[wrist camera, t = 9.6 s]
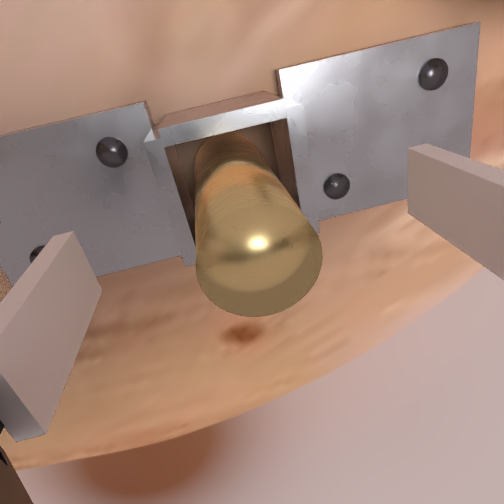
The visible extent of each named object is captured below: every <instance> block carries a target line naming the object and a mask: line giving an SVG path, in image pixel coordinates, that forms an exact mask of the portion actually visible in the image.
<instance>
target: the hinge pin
mask: <svg viewBox="0 0 504 504" xmlns="http://www.w3.org/2000/svg"><path fill="white" fill-rule="evenodd" d="M194 176H195V242H196V273H197V278H198V281H199V284H200V286H201V288H202V290H203V292H204V293H205V294H206V296H207V297H208V298H209V299H210V300H211V301H212V302H213V303H214V304H215V305H217V306H218V307H220V308H221V309H223V310H225V311H227V312H230V313H233V314H236V315H240V316H247V317H259V316H267V315H272V314H275V313H278V312H281V311H283V310H285V309H287V308H289V307H291V306H293V305H294V304H295V303H297V302H298V301H300V300H301V299H302V298H303V297H304V296H305V295H306V294H307V293H308V292H309V291H310V289H311V288H312V286H313V285H314V283H315V281H316V280H317V278H318V275H319V272H320V269H321V265H322V247H321V242H320V240H319V237H318V235H317V233H316V231H315V229H314V228H313V227H312V225H311V224H310V222H309V221H308V220H307V218H306V217H305V215H304V214H303V213H302V211H301V210H300V208H299V207H298V206H297V204H296V203H295V201H294V200H293V199H292V197H291V196H290V194H289V193H288V192H287V190H286V189H285V187H284V186H283V185H282V183H281V182H280V180H279V179H278V178H277V176H276V175H275V173H274V172H273V171H272V169H271V168H270V166H269V165H268V164H267V162H266V161H265V159H264V158H263V157H262V155H261V154H260V152H259V151H258V150H257V148H256V147H255V146H254V144H253V143H252V142H251V141H250V140H249V139H247V138H246V137H244V136H242V135H240V134H237V133H231V132H226V133H222V134H217V135H214V136H212V137H210V138H209V139H207V140H206V141H205V142H204V143H203V144H202V145H201V147H200V148H199V150H198V152H197V154H196V157H195V163H194Z"/></svg>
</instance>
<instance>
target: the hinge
mask: <svg viewBox="0 0 504 504" xmlns="http://www.w3.org/2000/svg"><path fill="white" fill-rule="evenodd" d="M479 34H480V22H477V23H470V24H465V25H461V26H456V27H452V28H448V29H444V30H440V31H436V32H431V33H427V34H423V35H419V36H415V37H410V38H406V39H402V40H398V41H394V42H389V43H385V44H381V45H377V46H373V47H368V48H364V49H360V50H356V51H352V52H347V53H343V54H339V55H335V56H331V57H326V58H322V59H318V60H314V61H310V62H305V63H301V64H297V65H293V66H289V67H284V68H280V69H276V70H275V71H276V77H277V84H278V90H279V95H277V96H276V95H273V94H271V93H268V92H266V91H261V92H257V93H253V94H248V95H244V96H240V97H236V98H232V99H228V100H223V101H219V102H215V103H211V104H207V105H203V106H198V107H194V108H190V109H186V110H182V111H178V112H173V113H169V114H165V116H164V118H163V120H162V122H161V124H157V125H153V122H152V119H151V116H150V113H149V110H148V107H147V104H146V101H142V102H138V103H133V104H129V105H125V106H121V107H117V108H112V109H108V110H104V111H100V112H96V113H91V114H87V115H83V116H79V117H75V118H70V119H66V120H62V121H58V122H54V123H49V124H45V125H41V126H37V127H33V128H28V129H24V130H20V131H16V132H12V133H7V134H3V135H0V266H1V268H2V270H3V271H4V273H5V274H6V276H7V278H8V279H9V281H10V282H11V284H12V286H14V285H15V283H16V282H17V281H18V280H19V278H20V277H21V276H22V275H23V273H24V272H25V271H26V270H27V268H28V267H29V266H30V265H31V263H32V262H33V261H34V260H35V258H36V257H37V256H38V255H39V253H40V252H41V251H42V250H43V248H44V247H45V246H46V244H47V243H48V242H49V241H50V239H51V238H52V237H53V236H55V235H59V234H63V233H67V232H71V231H74V233H75V235H76V237H77V239H78V241H79V243H80V245H81V247H82V249H83V252H84V254H85V256H86V258H87V260H88V262H89V264H90V266H91V268H92V270H93V272H94V274H95V276H96V277H98V276H102V275H106V274H110V273H114V272H118V271H122V270H126V269H129V268H133V267H137V266H141V265H145V264H149V263H153V262H157V261H161V260H165V259H169V258H173V257H177V256H181V255H182V258H183V261H184V264H185V266H189V265H193V264H196V242H195V211H194V207H193V204H192V201H191V197H190V194H189V191H188V188H187V184H186V181H185V178H184V174H183V171H182V168H181V164H180V161H179V158H178V155H177V151H176V148H175V145H176V144H180V143H185V142H189V141H193V140H197V139H201V138H205V137H209V136H213V135H217V134H222V133H226V132H230V131H234V130H238V129H242V128H246V127H250V126H255V125H259V124H263V123H267V122H270V127H271V133H272V139H273V144H274V150H275V156H276V161H277V167H278V173H279V179H280V182H281V183H282V185H283V186H284V187H285V189H286V190H287V192H288V193H289V194H290V196H291V197H292V199H293V200H294V201H295V203H296V204H297V206H298V207H299V208H300V210H301V211H302V213H303V214H304V215H305V217H306V218H307V220H308V221H309V222H310V224H311V225H312V227H313V228H314V229H315V231H316V233H319V232H320V231H319V223H318V221H320V220H324V219H328V218H332V217H336V216H339V215H343V214H347V213H351V212H355V211H359V210H363V209H367V208H371V207H375V206H379V205H383V204H387V203H391V202H395V201H399V200H403V199H407V198H408V148H410V147H414V146H418V145H422V144H426V143H427V144H430V145H433V146H436V147H439V148H441V149H444V150H447V151H450V152H453V153H456V154H459V155H462V156H464V157H467V158H470V148H471V135H472V122H473V110H474V97H475V85H476V72H477V59H478V47H479Z"/></svg>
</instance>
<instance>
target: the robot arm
mask: <svg viewBox="0 0 504 504" xmlns="http://www.w3.org/2000/svg"><path fill="white" fill-rule="evenodd" d="M408 213H409V214H410V215H411V216H413V217H414V218H416V219H417V220H419V221H420V222H421V223H423V224H424V225H426V226H427V227H429V228H430V229H431V230H433V231H434V232H436V233H437V234H439V235H440V236H441V237H443V238H444V239H446V240H447V241H449V242H450V243H451V244H453V245H454V246H456V247H457V248H459V249H460V250H461V251H463V252H464V253H466V254H467V255H469V256H470V257H471V258H473V259H474V260H476V261H477V262H479V263H480V264H481V265H483V266H484V267H486V268H487V269H489V270H490V271H491V272H493V273H494V274H496V275H497V276H498V277H500V278H501V279H503V280H504V170H502V169H499V168H496V167H493V166H490V165H487V164H484V163H482V162H479V161H476V160H473V159H470V158H467V157H464V156H462V155H459V154H456V153H453V152H450V151H447V150H444V149H441V148H439V147H436V146H433V145H430V144H427V143H426V144H422V145H418V146H414V147H410V148H408ZM101 293H102V288H101V286H100V284H99V282H98V280H97V278H96V276H95V274H94V272H93V270H92V268H91V266H90V264H89V262H88V260H87V258H86V256H85V254H84V252H83V249H82V247H81V245H80V243H79V241H78V239H77V237H76V235H75V233H74V231H71V232H67V233H63V234H59V235H55V236H53V237H52V238H51V239H50V241H49V242H48V243H47V244H46V246H45V247H44V248H43V250H42V251H41V252H40V253H39V255H38V256H37V257H36V258H35V260H34V261H33V262H32V263H31V265H30V266H29V267H28V268H27V270H26V271H25V272H24V273H23V275H22V276H21V277H20V278H19V280H18V281H17V282H16V283H15V285H14V286H13V287H12V289H11V290H10V291H9V292H8V294H7V295H6V296H5V297H4V299H3V300H2V301H1V302H0V434H1V432H2V430H3V428H5V429H6V430H7V431H8V433H9V434H10V435H11V436H12V438H13V439H14V440H15V441H16V442H19V441H22V440H26V439H30V438H34V437H37V436H41V435H45V434H47V431H48V429H49V426H50V424H51V421H52V418H53V416H54V413H55V411H56V408H57V406H58V403H59V401H60V398H61V395H62V393H63V390H64V388H65V385H66V383H67V380H68V377H69V375H70V372H71V370H72V367H73V365H74V362H75V360H76V357H77V354H78V352H79V349H80V347H81V344H82V342H83V339H84V336H85V334H86V331H87V329H88V326H89V324H90V321H91V319H92V316H93V313H94V311H95V308H96V306H97V303H98V301H99V298H100V296H101ZM0 504H33V502H32V501H31V499H30V497H29V495H28V493H27V491H26V490H25V488H24V486H23V484H22V482H21V481H20V479H19V477H18V475H17V473H16V471H15V470H14V468H13V466H12V464H11V462H10V460H9V459H8V457H7V455H6V453H5V451H4V450H3V449H2V448H1V446H0Z"/></svg>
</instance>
